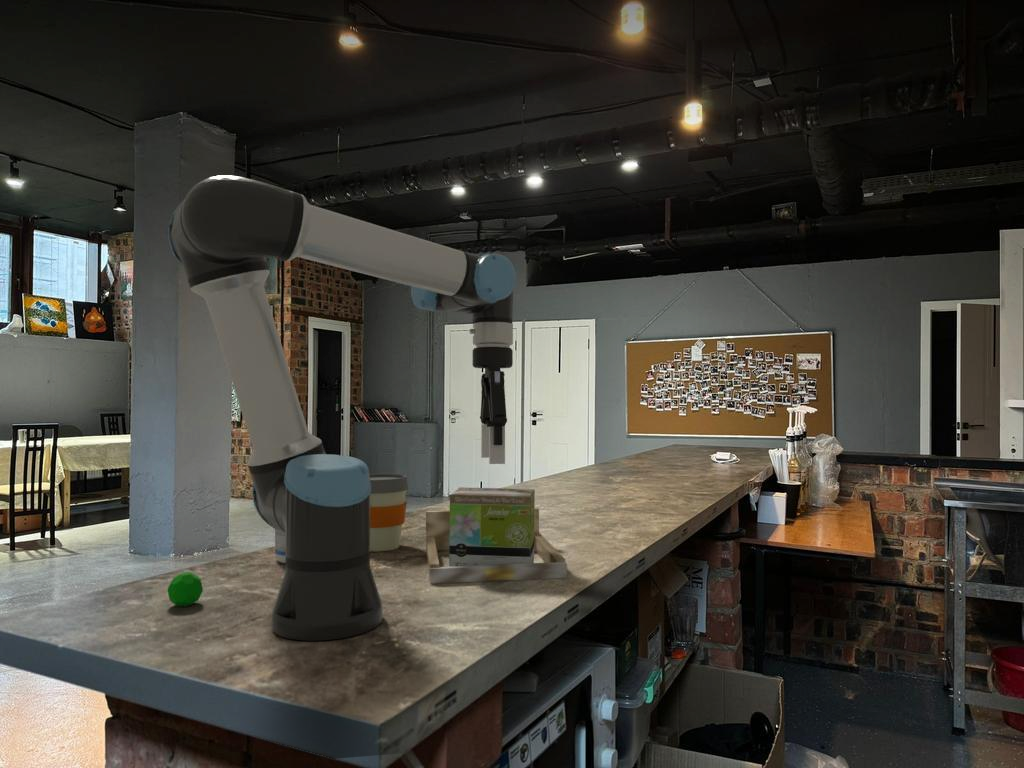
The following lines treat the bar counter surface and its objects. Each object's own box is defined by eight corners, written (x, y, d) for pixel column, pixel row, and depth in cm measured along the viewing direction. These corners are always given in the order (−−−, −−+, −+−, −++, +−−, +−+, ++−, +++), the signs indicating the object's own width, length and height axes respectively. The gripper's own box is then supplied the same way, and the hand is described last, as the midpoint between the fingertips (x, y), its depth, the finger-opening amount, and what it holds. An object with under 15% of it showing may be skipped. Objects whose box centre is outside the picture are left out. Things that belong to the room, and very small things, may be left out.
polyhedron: (162, 610, 107) (162, 578, 107) (175, 600, 111) (175, 570, 112) (196, 609, 107) (196, 577, 107) (207, 599, 112) (207, 569, 112)
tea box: (448, 575, 126) (447, 493, 127) (458, 562, 136) (457, 486, 137) (531, 577, 125) (531, 494, 125) (535, 564, 135) (535, 486, 135)
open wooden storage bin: (430, 584, 120) (430, 537, 121) (425, 548, 148) (425, 510, 149) (567, 578, 124) (566, 532, 124) (537, 544, 152) (537, 507, 152)
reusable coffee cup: (380, 555, 142) (380, 481, 143) (335, 549, 149) (335, 478, 149) (420, 544, 153) (419, 475, 153) (376, 538, 160) (376, 472, 160)
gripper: (466, 351, 143) (466, 455, 143) (479, 341, 119) (479, 467, 118) (503, 351, 145) (503, 454, 144) (523, 341, 120) (523, 466, 119)
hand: (492, 460), depth 131 cm, fingers open, 13 cm apart
